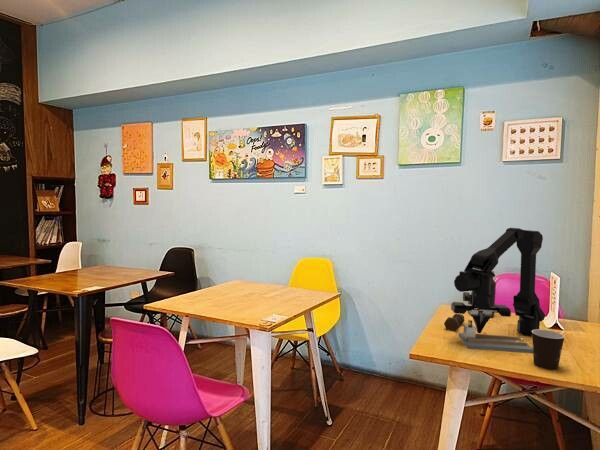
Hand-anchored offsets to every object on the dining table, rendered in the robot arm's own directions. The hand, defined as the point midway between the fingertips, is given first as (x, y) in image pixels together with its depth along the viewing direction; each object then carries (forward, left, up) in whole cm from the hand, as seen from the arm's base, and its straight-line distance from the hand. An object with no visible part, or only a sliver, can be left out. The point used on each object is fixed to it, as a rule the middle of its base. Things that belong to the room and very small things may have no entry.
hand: (478, 333), depth 144 cm
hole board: (-5, 0, -4) cm, 6 cm away
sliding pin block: (+3, 0, -2) cm, 4 cm away
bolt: (+3, -19, -4) cm, 19 cm away
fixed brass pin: (-14, 0, -2) cm, 14 cm away
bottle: (-13, -38, -4) cm, 41 cm away
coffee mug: (-16, +16, -4) cm, 23 cm away
